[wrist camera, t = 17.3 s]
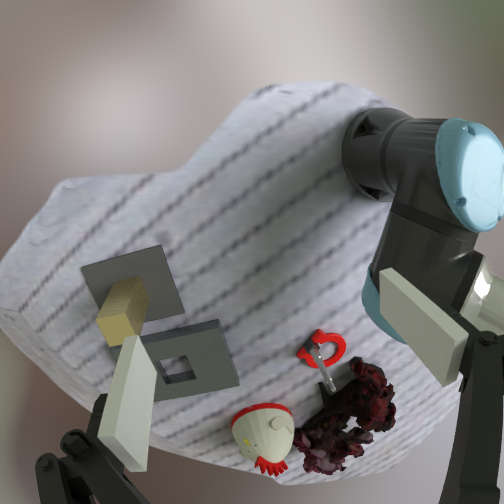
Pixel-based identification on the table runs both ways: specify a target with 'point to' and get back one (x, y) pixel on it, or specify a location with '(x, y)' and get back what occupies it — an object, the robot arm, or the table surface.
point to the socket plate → (190, 360)
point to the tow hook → (314, 357)
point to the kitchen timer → (264, 435)
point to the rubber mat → (152, 275)
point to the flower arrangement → (338, 413)
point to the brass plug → (123, 311)
